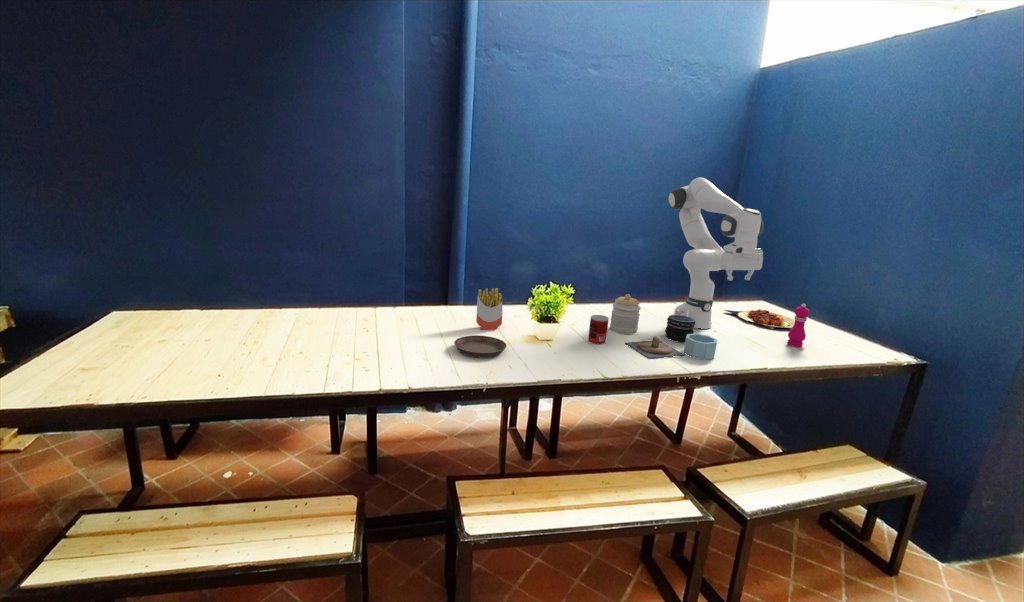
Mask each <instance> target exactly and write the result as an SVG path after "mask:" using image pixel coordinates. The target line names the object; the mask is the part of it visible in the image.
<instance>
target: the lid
mask: <svg viewBox="0 0 1024 602" xmlns="http://www.w3.org/2000/svg"><path fill="white" fill-rule="evenodd" d="M651 339H652V340H641V342H640V341H638V342H639V343H638V348H639V349H641V350H643V351H645V352H648V353H652V354H660V355H664V354H670V353H671V352H672V348H673V347H672V346H671V345H668V344H667V343H665V342H663V343H661V342H660V341H661V337H660V336H655V335H654V336H652V338H651ZM664 343H665V344H664ZM671 347H672V348H671Z"/></svg>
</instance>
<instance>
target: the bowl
mask: <svg viewBox="0 0 1024 602" xmlns="http://www.w3.org/2000/svg"><path fill="white" fill-rule="evenodd" d="M717 344H718V339H717V338H715V337H713V336H710V335H706V334H703V333H702V334H701V333H694V334H687V336H686V340H685V342H684V348H683V352H684V353H683V354H685V353H686V354H687V356H688V355H689V356H688V357H690V356H691V357H690V358H693V357H694V359H698V358H699V359H698V360H703V359H707V360H714V359H715V357H716V356H715V355H716V351H717ZM686 354H685V355H686Z"/></svg>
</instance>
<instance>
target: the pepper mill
mask: <svg viewBox="0 0 1024 602" xmlns="http://www.w3.org/2000/svg"><path fill="white" fill-rule="evenodd" d="M806 306H807V305H806V304H805V303H802V304H800V306H798V307H796V308H795V309H794V318H793V320H795V323H794V326H793V327H792V328H790V329H789V331H788V334H787V338H788V339H787V345H789V346H791V347H796V348H802V347H803V345H804V341H806V336H807V335H806V329H805V323H806V322H807V320H808V317H809V316H810V313H811V312H810V310H809V308H807V307H806Z"/></svg>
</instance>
